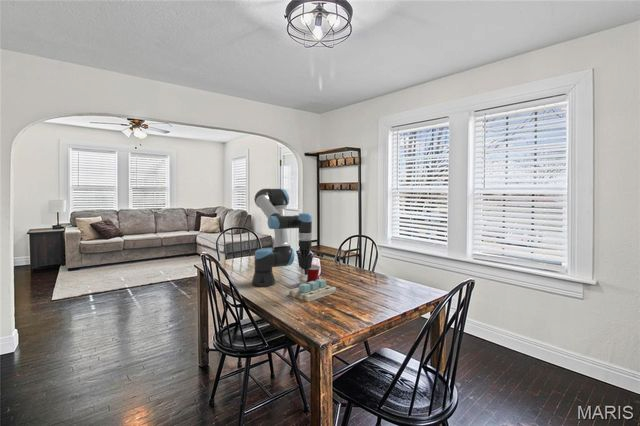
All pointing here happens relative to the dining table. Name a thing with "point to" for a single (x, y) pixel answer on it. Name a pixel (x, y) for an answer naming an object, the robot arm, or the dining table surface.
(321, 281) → the button
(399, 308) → the dining table surface
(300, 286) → the button
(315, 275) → the plastic cup
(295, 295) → the board
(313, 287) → the button
